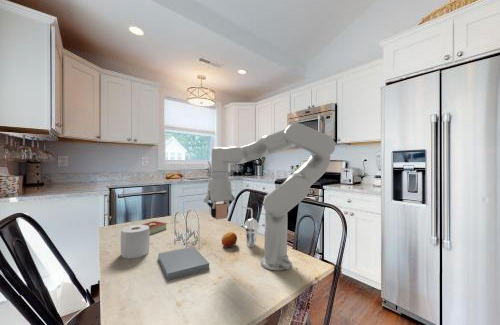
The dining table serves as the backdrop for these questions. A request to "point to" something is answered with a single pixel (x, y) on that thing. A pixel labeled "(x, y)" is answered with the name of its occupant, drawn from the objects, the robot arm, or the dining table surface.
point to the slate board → (182, 262)
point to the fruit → (229, 239)
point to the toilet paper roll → (134, 241)
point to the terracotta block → (221, 210)
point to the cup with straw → (251, 230)
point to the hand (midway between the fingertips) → (219, 215)
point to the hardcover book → (155, 226)
